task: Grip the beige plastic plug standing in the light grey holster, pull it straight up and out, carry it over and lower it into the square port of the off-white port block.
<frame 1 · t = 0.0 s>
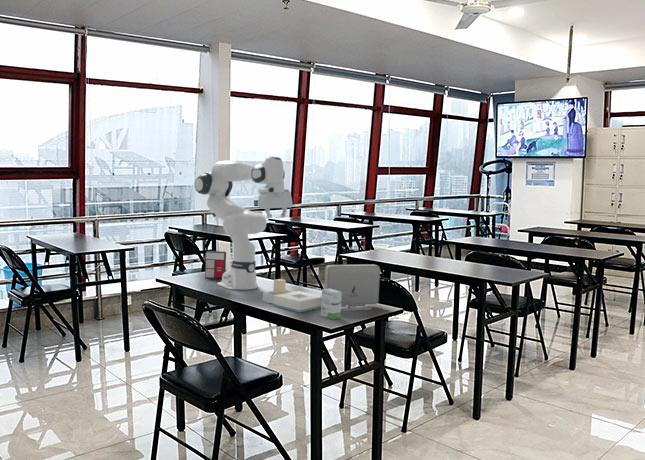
hand: (276, 217, 293), 39 cm above the table, tool pointing down, fingers open, 8 cm apart
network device: (350, 308, 275), on the table
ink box: (330, 317, 256), on the table
red and grey box: (215, 278, 336), on the table
holster: (279, 300, 285), on the table
plug: (279, 290, 284), in the holster
port block: (298, 306, 273), on the table
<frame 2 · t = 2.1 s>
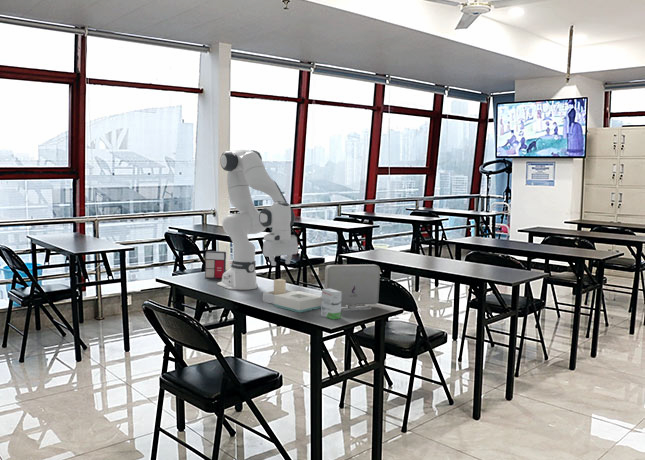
hand: (280, 264, 283), 17 cm above the table, tool pointing down, fingers open, 8 cm apart
nothing on the table moved.
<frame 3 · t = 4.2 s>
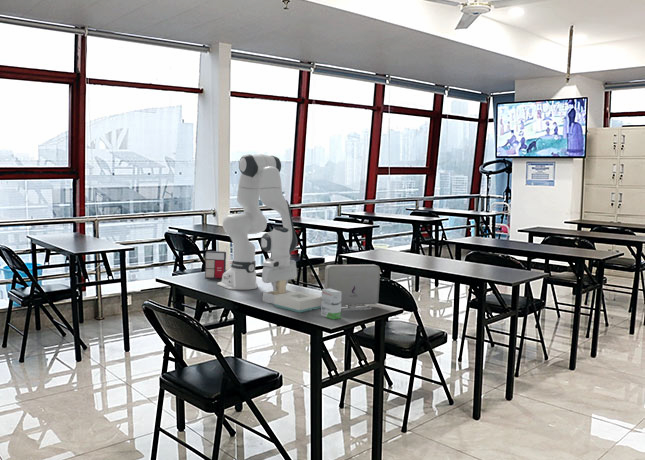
hand: (279, 289, 284), 5 cm above the table, tool pointing down, fingers closed on plug, 4 cm apart
plug: (279, 290, 284), in the holster, touching gripper
everything else where it was.
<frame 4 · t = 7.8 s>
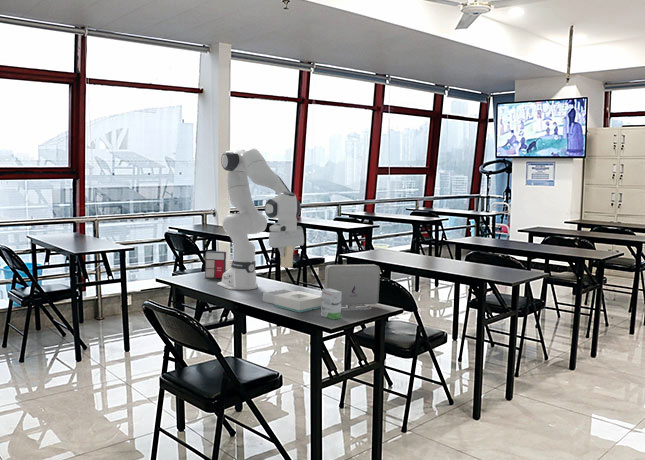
hand: (286, 256, 279), 22 cm above the table, tool pointing down, fingers closed on plug, 4 cm apart
plug: (286, 256, 279), point 22 cm above the table, touching gripper
everything else where it was.
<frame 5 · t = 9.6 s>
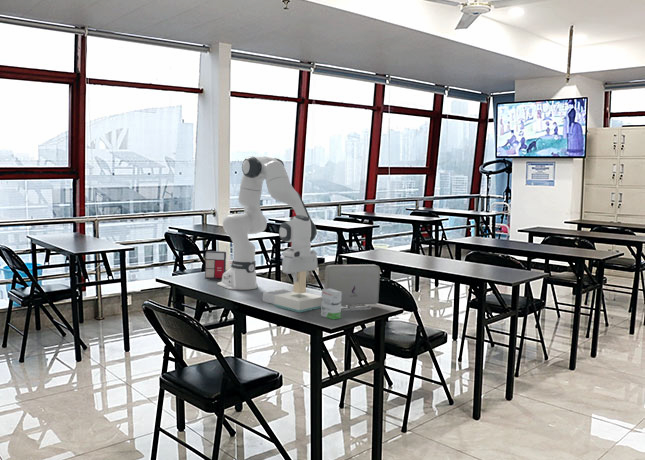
hand: (299, 281, 272), 12 cm above the table, tool pointing down, fingers closed on plug, 4 cm apart
plug: (299, 281, 272), point 12 cm above the table, touching gripper
everything else where it was.
when the fingers open (8 cm above the table, at t = 11.3 s): plug drops 1 cm, resting on port block.
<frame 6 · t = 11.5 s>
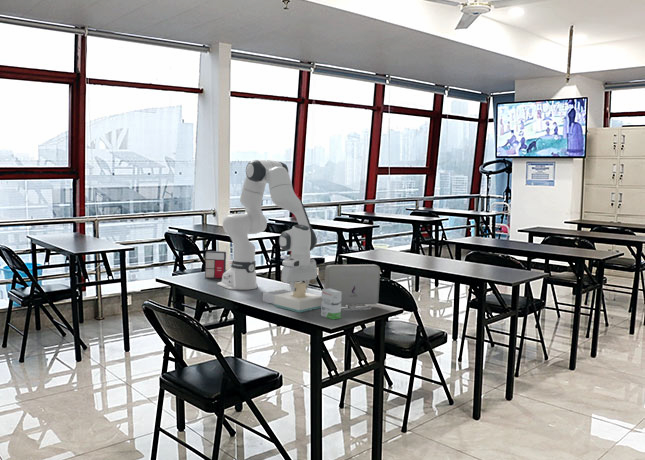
hand: (299, 290, 272), 8 cm above the table, tool pointing down, fingers open, 6 cm apart
plug: (299, 293, 273), in the port block, point 6 cm above the table
everything else where it was.
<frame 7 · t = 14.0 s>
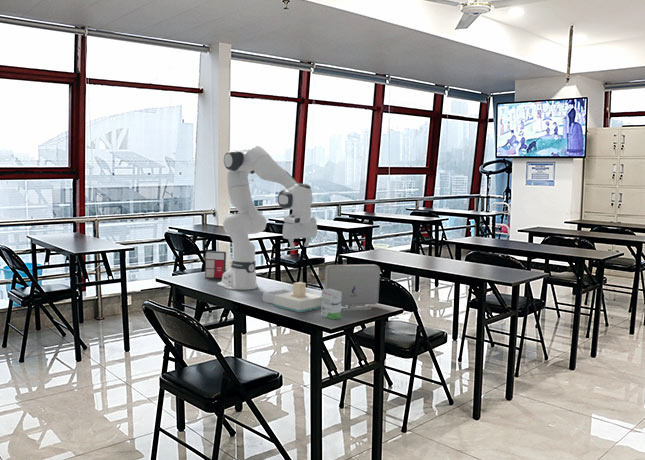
hand: (299, 247, 280), 26 cm above the table, tool pointing down, fingers open, 8 cm apart
nothing on the table moved.
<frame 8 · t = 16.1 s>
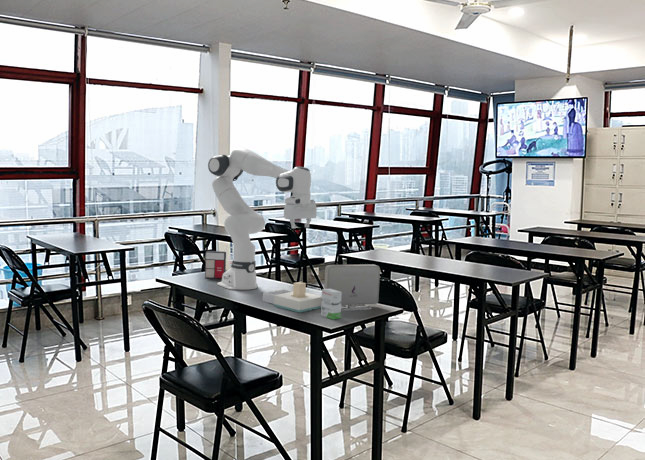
hand: (300, 227, 294), 34 cm above the table, tool pointing down, fingers open, 8 cm apart
nothing on the table moved.
at the end: plug 0.0 cm off-centre on the port block, point 6.0 cm above the port block's base; plug tilted 0°; the gripper is holding nothing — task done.
